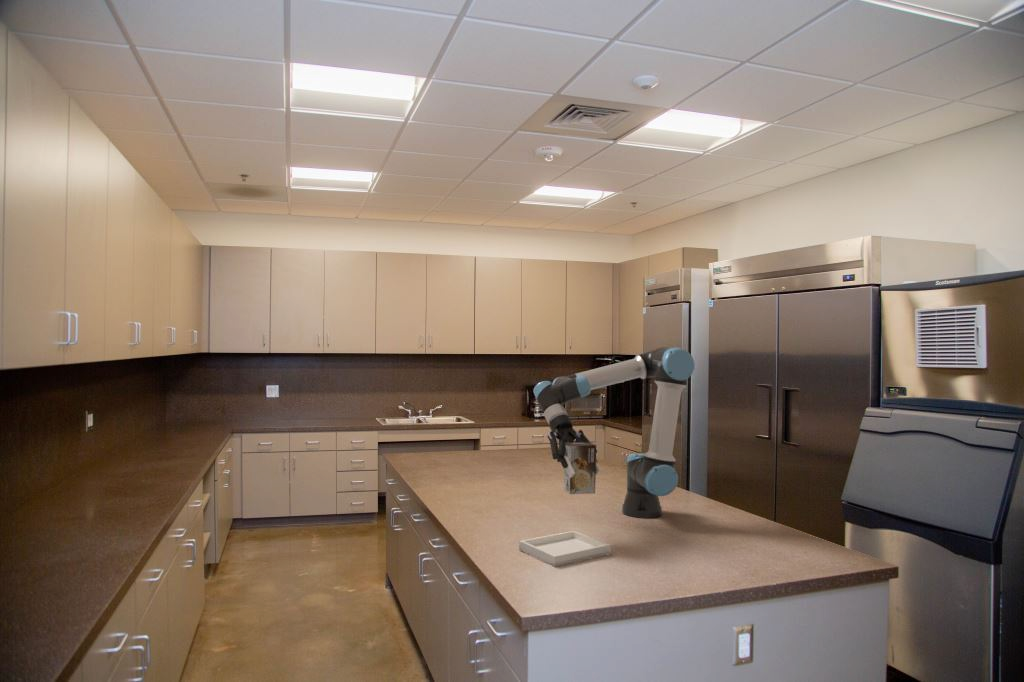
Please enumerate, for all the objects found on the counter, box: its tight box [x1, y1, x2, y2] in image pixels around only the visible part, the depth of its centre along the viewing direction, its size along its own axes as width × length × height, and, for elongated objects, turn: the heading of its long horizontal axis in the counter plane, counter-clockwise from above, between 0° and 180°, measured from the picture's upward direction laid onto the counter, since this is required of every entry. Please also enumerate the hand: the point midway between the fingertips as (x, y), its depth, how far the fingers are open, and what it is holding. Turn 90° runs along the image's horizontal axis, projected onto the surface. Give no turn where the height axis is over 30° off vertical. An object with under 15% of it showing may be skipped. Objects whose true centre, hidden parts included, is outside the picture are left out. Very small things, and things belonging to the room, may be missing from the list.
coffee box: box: [563, 442, 597, 495], centre depth 217 cm, size 9×6×16 cm
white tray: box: [518, 530, 612, 568], centre depth 205 cm, size 18×22×3 cm
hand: (585, 474), depth 215 cm, fingers closed on coffee box, 10 cm apart
